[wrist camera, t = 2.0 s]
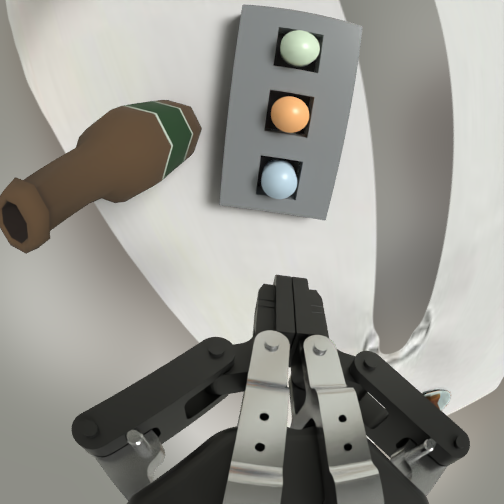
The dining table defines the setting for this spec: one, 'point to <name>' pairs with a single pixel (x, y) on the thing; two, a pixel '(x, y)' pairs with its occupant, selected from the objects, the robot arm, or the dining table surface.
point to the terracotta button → (289, 114)
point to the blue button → (278, 179)
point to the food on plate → (439, 398)
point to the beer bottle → (100, 168)
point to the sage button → (299, 48)
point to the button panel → (296, 82)
